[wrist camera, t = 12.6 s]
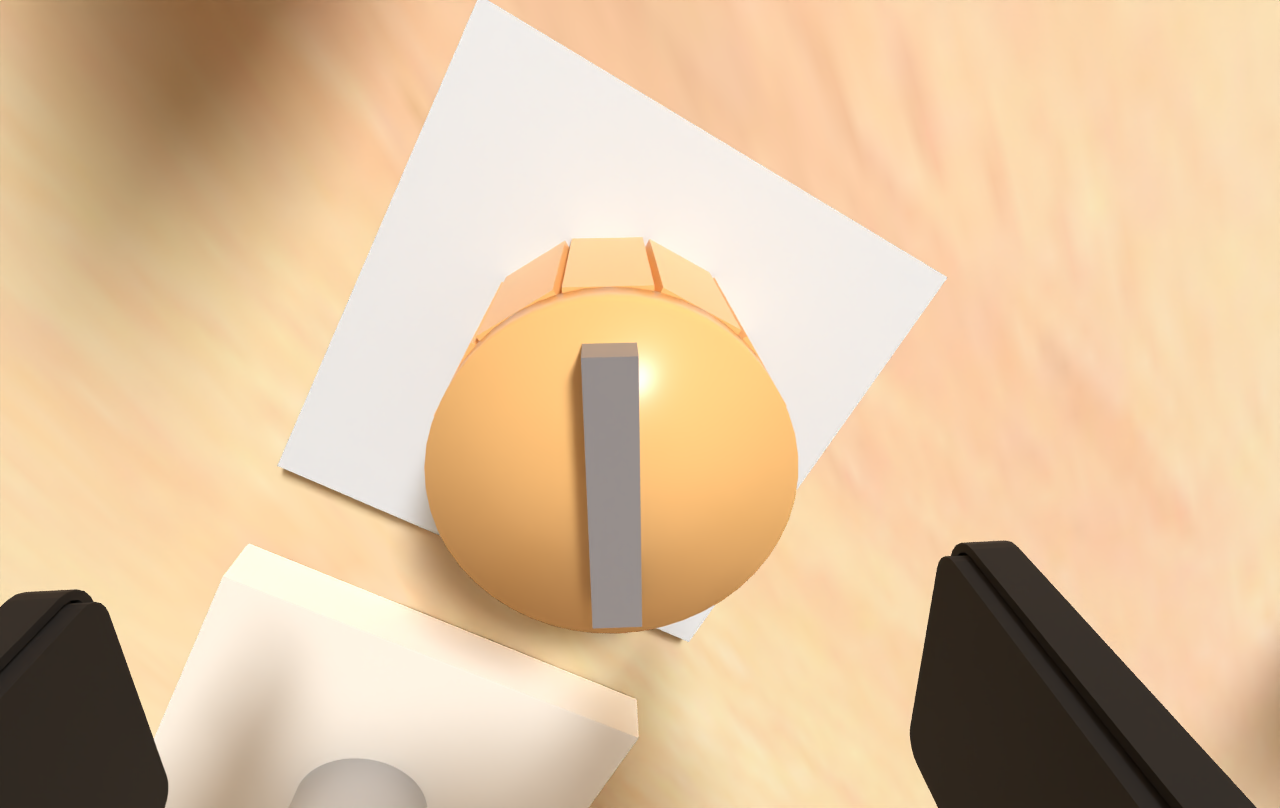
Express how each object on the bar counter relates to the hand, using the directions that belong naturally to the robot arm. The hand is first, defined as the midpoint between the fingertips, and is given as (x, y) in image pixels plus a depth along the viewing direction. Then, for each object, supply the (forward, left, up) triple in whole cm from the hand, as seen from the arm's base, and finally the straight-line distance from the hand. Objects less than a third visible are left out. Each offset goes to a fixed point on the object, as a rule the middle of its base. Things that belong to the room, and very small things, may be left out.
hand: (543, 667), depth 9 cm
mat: (+1, 0, -11) cm, 11 cm away
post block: (+1, -15, -11) cm, 19 cm away
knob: (+1, 0, -11) cm, 11 cm away
